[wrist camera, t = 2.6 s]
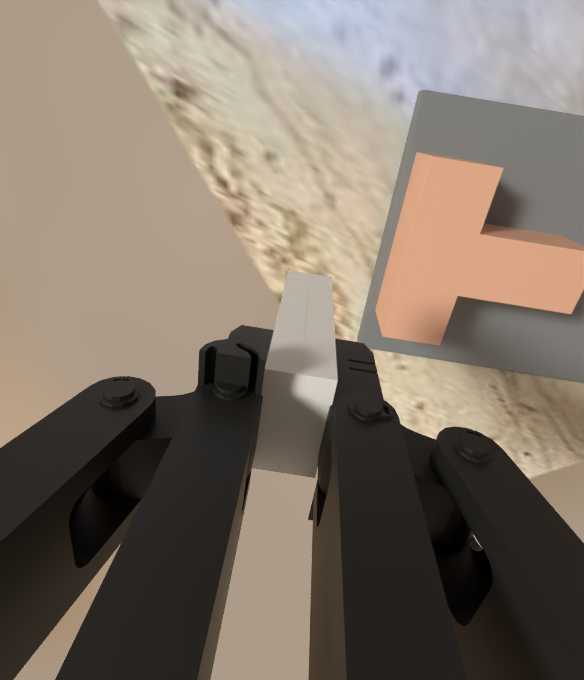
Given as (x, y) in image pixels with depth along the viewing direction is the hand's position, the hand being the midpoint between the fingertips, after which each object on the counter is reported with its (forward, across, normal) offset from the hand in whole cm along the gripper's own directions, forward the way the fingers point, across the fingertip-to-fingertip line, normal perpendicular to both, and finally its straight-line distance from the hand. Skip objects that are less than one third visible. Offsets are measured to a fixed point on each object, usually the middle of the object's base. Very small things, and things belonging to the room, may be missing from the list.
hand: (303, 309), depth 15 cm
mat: (+14, +13, 0) cm, 19 cm away
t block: (+13, +10, 0) cm, 16 cm away
